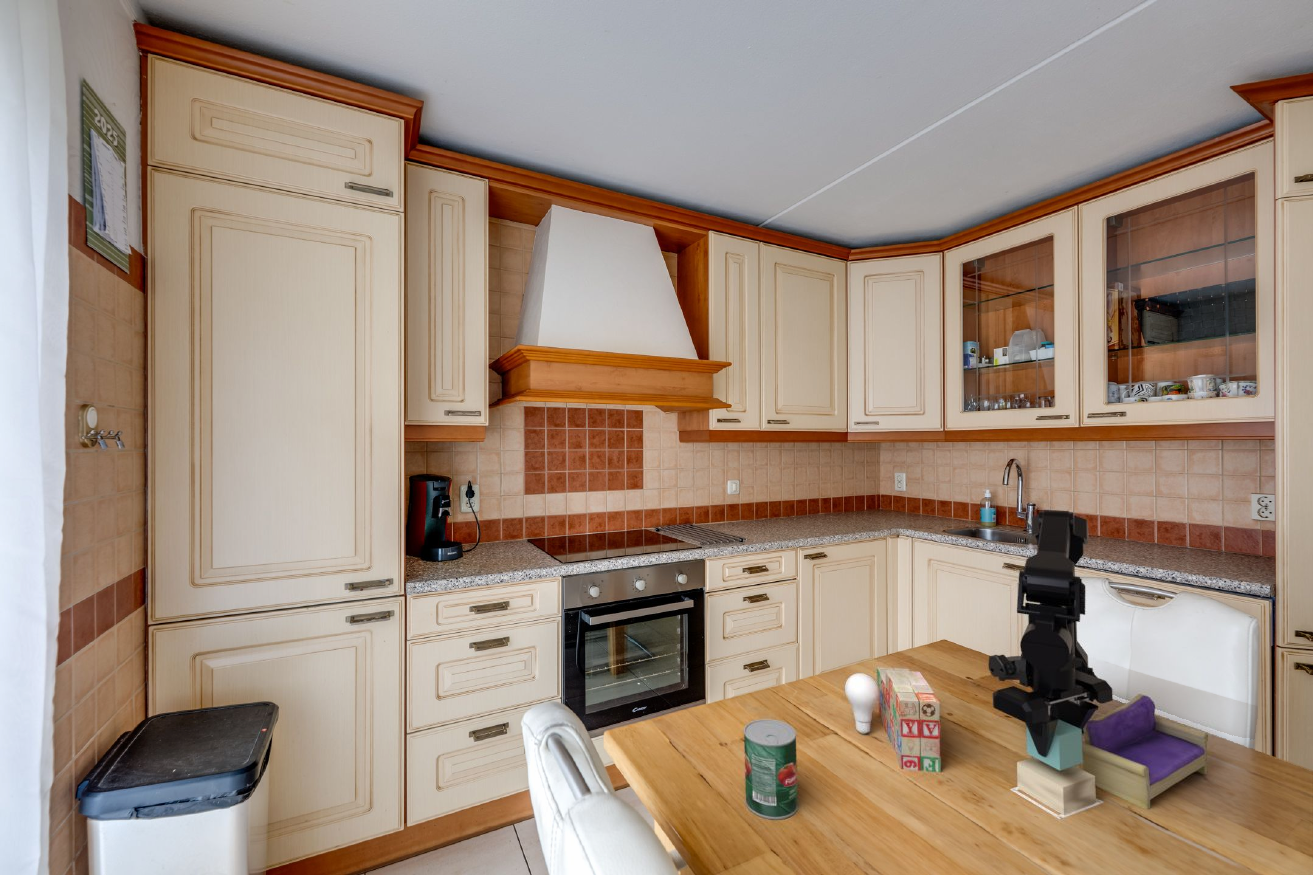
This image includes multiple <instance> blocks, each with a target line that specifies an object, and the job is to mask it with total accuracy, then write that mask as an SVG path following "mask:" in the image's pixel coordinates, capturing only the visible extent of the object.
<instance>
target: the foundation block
mask: <svg viewBox="0 0 1313 875" xmlns="http://www.w3.org/2000/svg"><path fill="white" fill-rule="evenodd" d="M1016 773H1017V774H1016V776H1017V780H1016V781H1017V782H1016V783H1017V787H1018V789H1020V790H1019V791H1021V792H1023V793H1025V794H1027V795H1028V796H1031V797H1032V798H1034V799H1035V800H1037V801H1039V803H1042V804H1043V805H1045V806H1047V807H1048V808H1051V809H1052V810H1053V811H1056V812H1058V813H1059V814H1060V815H1061V814H1062V815H1066V814H1069V813H1072V812H1074V811H1077V810H1079V809H1082V808H1085V807H1087V806H1090V805H1093V804H1095V803H1096V798H1097V796H1096V794H1097V793H1096V786H1095V776H1094V775H1092V774H1090V773H1088V772H1086V771H1084V770H1083V768H1082V769H1081V768H1080V767H1078V766H1077V765H1075V766H1072V767H1069V768H1066V769H1063V770H1058V769H1056V768H1054V767H1052V766H1050V765H1048V764H1046V763H1044V762H1042V761H1040V760H1039V759H1037V758H1035V757H1033V756H1031V757H1029V758H1027V759H1024V760H1023V759H1022V760H1020V761H1017V762H1016Z"/></svg>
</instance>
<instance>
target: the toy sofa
mask: <svg viewBox="0 0 1313 875" xmlns="http://www.w3.org/2000/svg"><path fill="white" fill-rule="evenodd" d="M1155 710H1156V705H1155V702H1154V700H1153V699H1152V698H1151V697H1149V696H1148V695H1144V694H1142V693H1138V694H1136V695H1135V696H1134V698H1132V699H1131V700H1130V701H1128V702H1127V703H1124V704H1123V705H1120V706H1118V707H1116V708H1115V709H1113V710H1110V711H1108V712H1106V713H1104V714H1103V715H1101V716H1099V717H1096V718H1092V717H1091V718H1090V719H1089V721H1088V722H1087V724H1086V725H1085V727H1084V728H1083V730H1084V733H1083V735H1084V742H1083V741H1082V760H1083V763H1082V770H1084V771H1086V772H1088V773H1090V774H1092V775H1094V776H1095V787H1098V788H1100V789H1101V790H1104V791H1106V792H1108V793H1109V794H1113V795H1115V796H1117V797H1119V798H1121V799H1123V800H1125V801H1127V802H1129V803H1132V804H1134V805H1136V806H1138V807H1140V808H1143V809H1145V810H1147V811H1149V809H1151V800H1152V799H1154V798H1155V797H1157V796H1158V795H1160V794H1161V793H1163V792H1164V791H1167V790H1168V789H1169V788H1170V787H1172V786H1174V785H1175V784H1178V783H1179V782H1180V781H1182V780H1183V779H1185V778H1186V777H1188V776H1190V775H1191V774H1193V773H1195V772H1197V773H1199V774H1202V775H1207V774H1208V750H1207V749H1208V748H1207V747H1208V746H1207V745H1208V744H1207V743H1208V740H1209V734H1208V732H1205V731H1203V730H1199V729H1197V728H1193V727H1190V726H1187V725H1185V724H1181V723H1179V722H1176V721H1173V720H1169V719H1167V718H1164V717H1160V716H1158V715H1155V712H1156V711H1155Z"/></svg>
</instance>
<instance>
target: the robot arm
mask: <svg viewBox="0 0 1313 875" xmlns="http://www.w3.org/2000/svg"><path fill="white" fill-rule="evenodd" d="M1031 537H1032V539H1033V541H1036V544H1037V549H1036V554H1034V555H1031V556H1029V557H1028V558H1026V560H1025V563H1024V567H1023V570H1019V572H1018V583H1017V584H1018V586H1017V604H1016V613H1017V614H1021V615H1027V617H1028V618H1027V621H1028V622H1027V623H1028V624H1027V626H1026V628H1025V630H1024V633H1023V635H1022V637H1021V639H1020V641H1019V642H1020V644H1019V645H1020V647H1019V648H1020V651H1021V654H1020V655H1014V656H1013V655H1011V656H1006V655H1005V654H999V655H998V654H994V655H989V656H988V664H987V666H988V671H989V673H990V675H991V676H993V678H998V681H1000V682H1005V681H1019V685H1021V686H1022V687H1025V688H1031V690H1032V691H1027V690H1025V689H1022V688H1019V687H1017V686H1014V685H1012V686H1008V687H1005V688H1004V687H1003V688H1000V689H997V690H995V691H994V692H993V693H992V707H993V709H995V710H998V711H1000V712H1002V713H1004V714H1006V715H1008V716H1010V717H1012V718H1015V719H1017V720H1019V721H1021V722H1022V723H1025V727H1026V726H1027V728H1028V730H1029V732H1030V735H1031V737H1032V740H1033V742H1034V745H1035V747H1036V750H1037V752H1038V754H1039V755H1041V756H1043V757H1046V756H1047V754H1048V752H1049V750H1050V746H1051V743H1052V740H1053V736H1054V733H1055V730H1056V727H1057V723H1058V720H1061V721H1064V722H1066V723H1068V724H1071V725H1073V726H1075V727H1077V728H1080V729H1082V734H1084V730H1083V728H1084V727H1085V725H1086V724H1087V722H1088V721H1089V719H1090V718H1092V716H1093V715H1094V714H1095V712H1096V711H1098V710H1099V709H1100V708H1099V705H1097V704H1096V703H1094V702H1095V701H1096V702H1097V703H1099V704H1100V705H1103V704H1106V703H1109V702H1113V698H1114V697H1113V688H1112V687H1111V685H1110V684H1109V683H1108V682H1107V681H1106V679H1103V678H1099V677H1098V676H1097V675H1096V674H1095V672H1094V668H1093V667H1089V657H1088V656H1089V655H1088V654H1087V652H1086V651H1085V649H1084V648H1083V646H1082V645H1081V644H1080V643H1079V641H1078V627H1077V626H1078V623H1080V622H1081V615H1083V616H1085V615H1086V585H1085V583H1084V582H1083V580H1082V578H1081V576H1076V565H1077V564H1078V562H1079V561H1080V560H1081V558H1082V557H1083V556H1084V552H1085V545H1086V544H1087V545H1089V537H1090V536H1089V524H1088V520H1087V519H1086V518H1083V517H1080V516H1078V515H1075V514H1074V512H1071V511H1069V510H1057V509H1056V510H1053V509H1043V510H1039V512H1038V514H1036V515H1034V516H1031Z"/></svg>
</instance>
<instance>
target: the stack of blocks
mask: <svg viewBox="0 0 1313 875" xmlns="http://www.w3.org/2000/svg"><path fill="white" fill-rule="evenodd" d="M876 683H877V685H878V687H879V693H880V695H879V699H878V713H879V715H880V718H881V722H882V725H883V727H884V730H885V733H886V735H887V737H888V739H889V742H890V745H891V746H892V747H891V748H892V749H893V751H894V753H895V755H896V758H897V762H898V764H899V767H900V770H910V771H917V772H918V771H919V772H920V771H921V772H924V771H925V772H932V773H933V772H934V773H936V772H937V773H941V771H942V770H941V769H942V768H941V766H942V759H941V758H942V757H941V740H940V739H941V720H940V719H941V718H940V717H941V716H940V713H941V711H940V710H941V707H940V706H941V702H940V701H939V699H938V697H937V696H936V694H935V692H934V690H933V689H932V687H931V686H930V685H929V683H928V682H927V680H926V679H925V678H924V676H923V675H922V673H921V672H920V671H913V670H911V671H910V669H909V668H901V667H880V666H879V667H878V666H877V667H876Z"/></svg>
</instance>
